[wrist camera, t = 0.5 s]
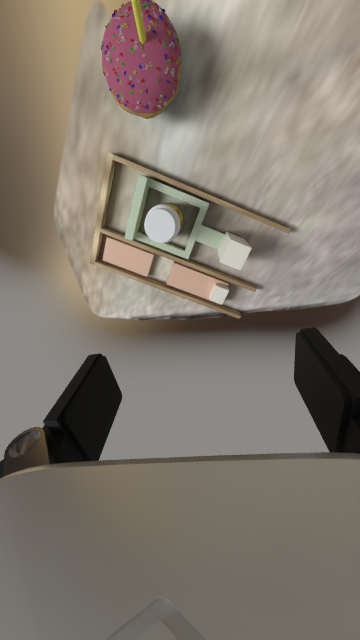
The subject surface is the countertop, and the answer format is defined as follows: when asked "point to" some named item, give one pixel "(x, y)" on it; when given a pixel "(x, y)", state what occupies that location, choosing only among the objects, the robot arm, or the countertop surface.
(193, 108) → the countertop surface
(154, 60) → the cupcake
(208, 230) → the green handled square frame
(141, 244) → the lane rails
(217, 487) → the robot arm
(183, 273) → the broken strip
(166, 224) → the supplement bottle
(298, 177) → the countertop surface
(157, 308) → the countertop surface
